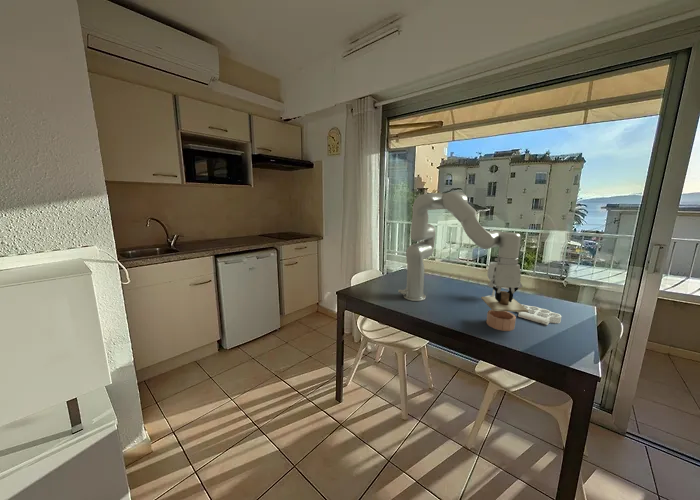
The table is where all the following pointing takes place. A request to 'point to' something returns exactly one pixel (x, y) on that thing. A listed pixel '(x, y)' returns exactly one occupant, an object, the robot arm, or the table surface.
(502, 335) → the table surface
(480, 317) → the table surface
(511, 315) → the bowl
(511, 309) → the lid
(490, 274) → the wineglass
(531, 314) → the white compartment tray
